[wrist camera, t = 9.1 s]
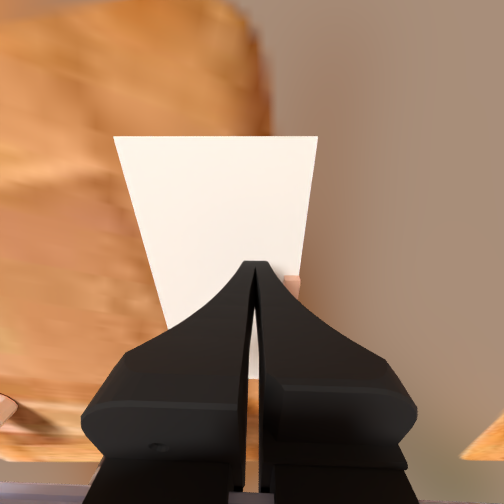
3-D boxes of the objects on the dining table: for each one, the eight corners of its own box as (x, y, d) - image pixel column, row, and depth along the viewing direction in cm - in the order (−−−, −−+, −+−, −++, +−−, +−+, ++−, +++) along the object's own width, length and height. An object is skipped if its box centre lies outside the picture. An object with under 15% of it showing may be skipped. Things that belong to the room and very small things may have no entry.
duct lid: (283, 370, 18) (285, 386, 17) (184, 369, 19) (179, 384, 17) (313, 138, 10) (321, 134, 8) (123, 138, 10) (103, 134, 8)
